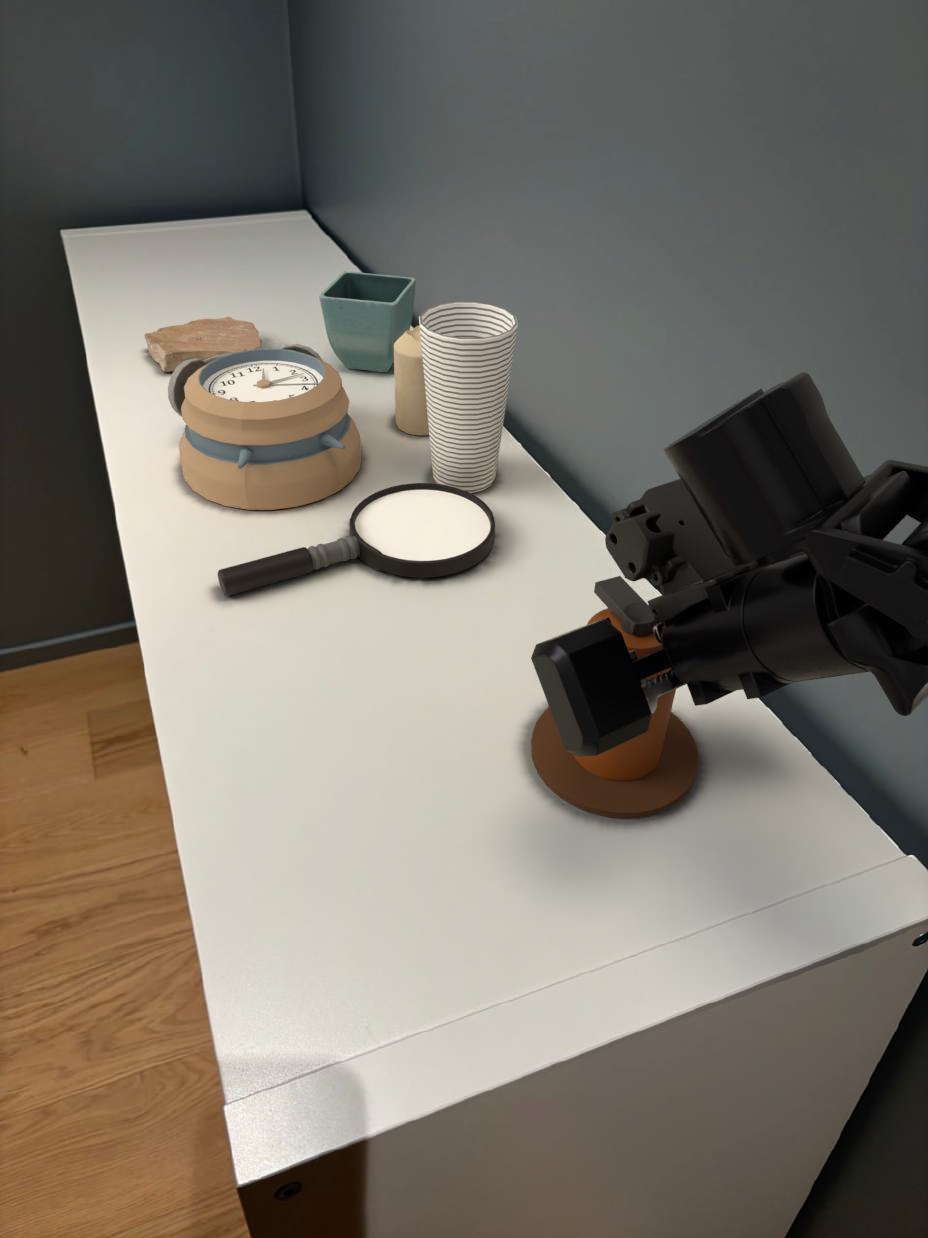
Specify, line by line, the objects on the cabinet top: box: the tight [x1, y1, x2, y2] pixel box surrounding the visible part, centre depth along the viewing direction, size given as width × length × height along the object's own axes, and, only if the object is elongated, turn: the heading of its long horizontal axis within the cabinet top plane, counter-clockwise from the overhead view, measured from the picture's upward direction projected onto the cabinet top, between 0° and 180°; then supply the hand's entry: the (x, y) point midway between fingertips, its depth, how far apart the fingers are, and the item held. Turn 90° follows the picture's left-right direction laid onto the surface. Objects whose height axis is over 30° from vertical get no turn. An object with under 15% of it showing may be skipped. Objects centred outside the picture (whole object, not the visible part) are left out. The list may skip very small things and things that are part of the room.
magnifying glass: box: [217, 482, 496, 597], centre depth 77 cm, size 12×24×2 cm, turn 118°
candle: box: [393, 325, 429, 436], centre depth 93 cm, size 6×6×10 cm
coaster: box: [530, 706, 700, 819], centre depth 61 cm, size 11×11×1 cm
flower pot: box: [318, 271, 417, 373], centre depth 105 cm, size 9×9×9 cm
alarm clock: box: [167, 343, 362, 511], centre depth 89 cm, size 17×9×23 cm
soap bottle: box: [573, 575, 677, 781], centre depth 58 cm, size 7×6×11 cm
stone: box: [143, 316, 263, 373], centre depth 107 cm, size 13×12×3 cm
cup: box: [418, 301, 519, 494], centre depth 83 cm, size 8×8×16 cm
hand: (614, 661), depth 58 cm, fingers closed on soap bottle, 6 cm apart
